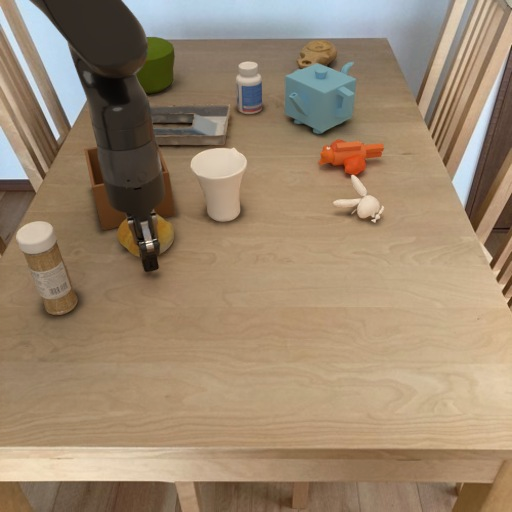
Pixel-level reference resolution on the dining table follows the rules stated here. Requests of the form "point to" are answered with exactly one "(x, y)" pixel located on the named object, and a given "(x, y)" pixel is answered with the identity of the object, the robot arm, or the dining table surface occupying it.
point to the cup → (220, 180)
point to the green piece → (157, 66)
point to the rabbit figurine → (361, 202)
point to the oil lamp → (317, 54)
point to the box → (106, 212)
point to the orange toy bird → (350, 155)
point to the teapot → (320, 96)
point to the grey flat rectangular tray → (200, 133)
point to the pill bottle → (249, 88)
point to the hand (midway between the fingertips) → (151, 268)
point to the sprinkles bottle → (47, 266)
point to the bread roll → (164, 236)
